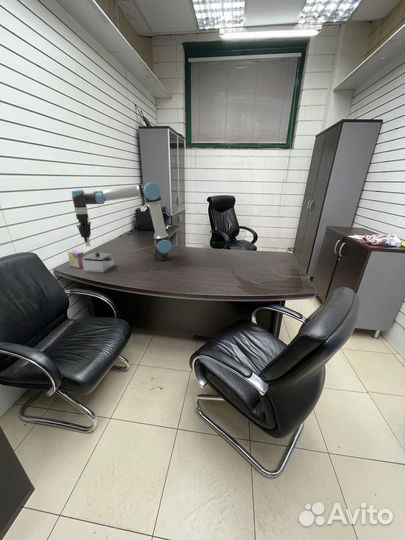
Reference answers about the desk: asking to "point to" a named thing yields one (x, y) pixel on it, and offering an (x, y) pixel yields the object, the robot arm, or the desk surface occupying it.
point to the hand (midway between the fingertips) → (88, 245)
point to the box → (75, 258)
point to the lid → (97, 256)
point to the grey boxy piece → (98, 264)
